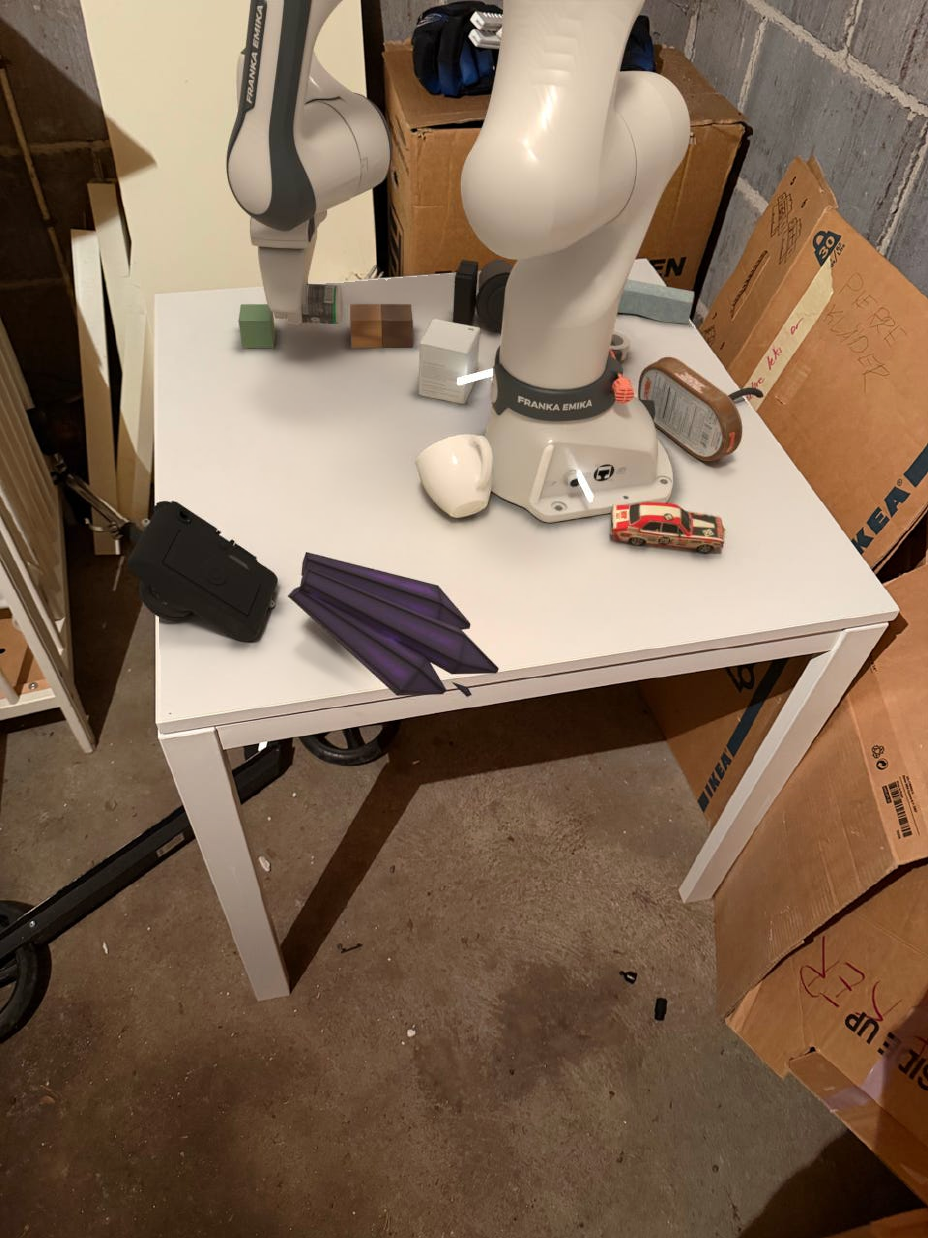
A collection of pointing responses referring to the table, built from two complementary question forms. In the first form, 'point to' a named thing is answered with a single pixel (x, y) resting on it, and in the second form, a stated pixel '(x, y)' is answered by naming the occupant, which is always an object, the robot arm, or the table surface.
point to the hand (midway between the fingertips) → (298, 308)
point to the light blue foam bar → (656, 302)
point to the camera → (200, 573)
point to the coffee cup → (492, 293)
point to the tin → (691, 409)
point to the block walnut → (397, 326)
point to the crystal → (390, 624)
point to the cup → (457, 473)
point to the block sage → (256, 326)
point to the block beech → (366, 325)
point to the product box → (448, 360)
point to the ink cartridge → (465, 292)
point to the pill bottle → (321, 304)
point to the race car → (666, 526)
